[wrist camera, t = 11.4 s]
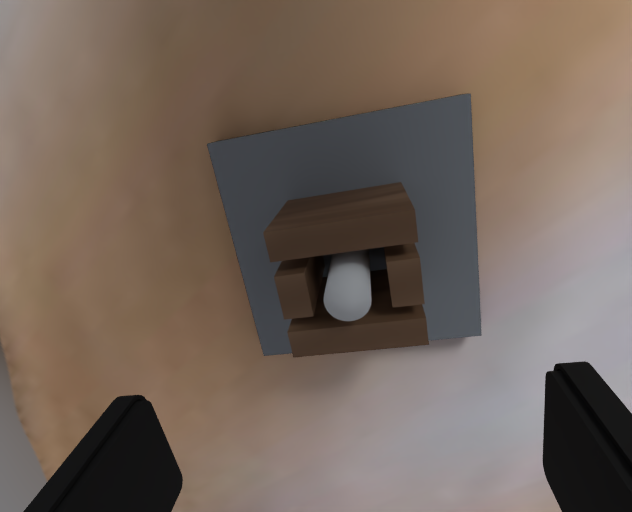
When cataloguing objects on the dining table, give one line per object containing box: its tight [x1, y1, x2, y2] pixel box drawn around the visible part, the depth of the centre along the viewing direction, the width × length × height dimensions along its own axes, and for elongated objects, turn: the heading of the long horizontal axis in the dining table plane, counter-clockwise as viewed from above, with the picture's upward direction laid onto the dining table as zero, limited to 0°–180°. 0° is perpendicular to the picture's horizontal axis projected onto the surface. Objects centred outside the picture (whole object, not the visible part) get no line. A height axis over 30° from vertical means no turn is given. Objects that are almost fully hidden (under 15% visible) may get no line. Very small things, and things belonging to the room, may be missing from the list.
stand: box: [207, 94, 481, 356], centre depth 20 cm, size 14×14×8 cm
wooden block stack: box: [263, 182, 429, 357], centre depth 20 cm, size 6×6×6 cm
